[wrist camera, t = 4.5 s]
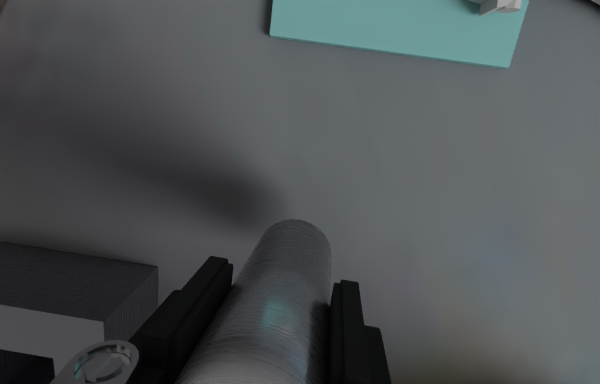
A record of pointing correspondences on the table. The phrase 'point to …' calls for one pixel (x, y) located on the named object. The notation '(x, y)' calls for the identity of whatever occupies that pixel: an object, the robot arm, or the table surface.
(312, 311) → the metal cylinder
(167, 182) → the table surface
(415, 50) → the mat
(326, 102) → the table surface
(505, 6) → the adjustable wrench
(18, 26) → the table surface
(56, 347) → the block
